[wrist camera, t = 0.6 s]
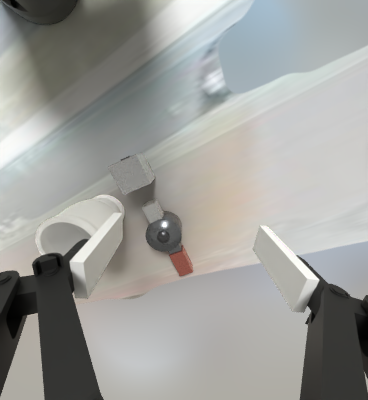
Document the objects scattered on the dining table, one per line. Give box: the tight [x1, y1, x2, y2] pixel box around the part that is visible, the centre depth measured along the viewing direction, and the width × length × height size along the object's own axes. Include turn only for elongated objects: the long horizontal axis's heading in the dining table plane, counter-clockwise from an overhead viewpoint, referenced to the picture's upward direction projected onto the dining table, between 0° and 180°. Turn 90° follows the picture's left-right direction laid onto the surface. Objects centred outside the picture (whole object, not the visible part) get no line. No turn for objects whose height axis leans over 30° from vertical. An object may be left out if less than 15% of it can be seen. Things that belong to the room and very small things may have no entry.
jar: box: [35, 195, 125, 256], centre depth 34 cm, size 11×10×15 cm
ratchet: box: [142, 199, 193, 276], centre depth 41 cm, size 22×8×6 cm, turn 23°
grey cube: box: [108, 153, 155, 195], centre depth 35 cm, size 6×6×6 cm
